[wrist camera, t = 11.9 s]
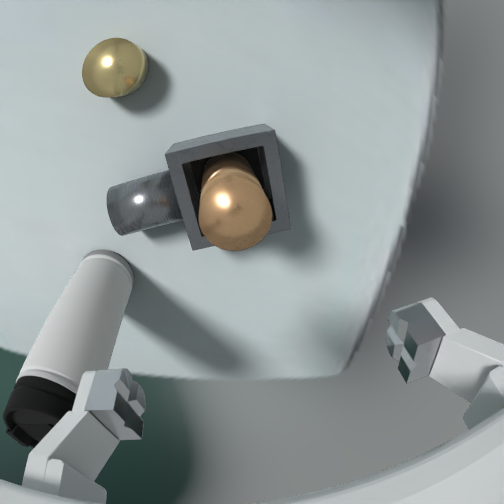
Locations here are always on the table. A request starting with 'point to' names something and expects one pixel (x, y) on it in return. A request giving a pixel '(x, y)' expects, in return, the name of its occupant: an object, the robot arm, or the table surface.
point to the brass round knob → (114, 68)
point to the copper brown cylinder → (233, 204)
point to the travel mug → (70, 346)
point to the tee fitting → (184, 188)
